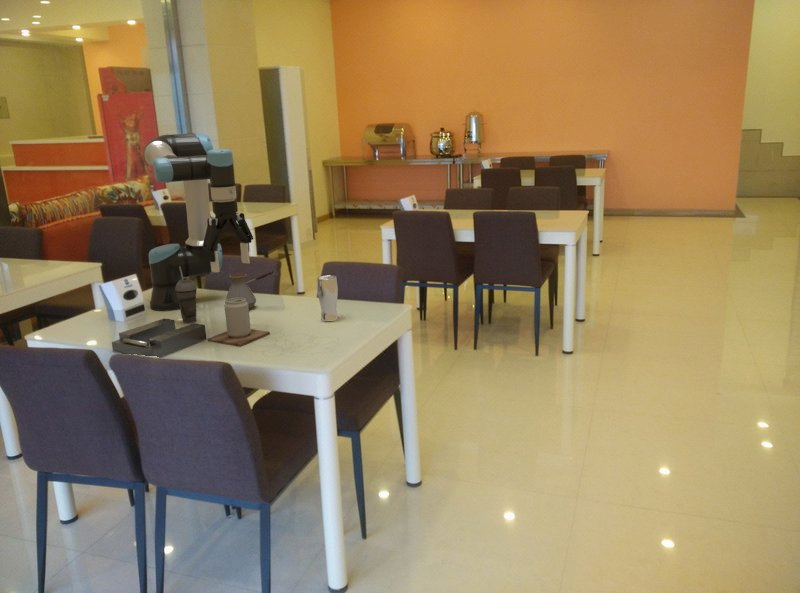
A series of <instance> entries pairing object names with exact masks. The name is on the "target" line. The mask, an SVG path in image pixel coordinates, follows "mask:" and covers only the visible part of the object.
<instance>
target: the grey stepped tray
mask: <svg viewBox="0 0 800 593" xmlns="http://www.w3.org/2000/svg"><path fill="white" fill-rule="evenodd" d="M206 331H207V330H206V324H201V323H197V322H194V323H189V324H188V325H184V326H182V327H179V328H176V320H175V319H171V318H162V319H158V320H155V321H151V322H149V323H146V324H142V325H140V326H137V327H134V328H130V329H128V330H124V331H122V332H119V333H118V336H119V339H115V340H113V341H111V348H112V352H115V353H120V354H124V353H129V354H137V355H145V356H157V357H161V358H163V357H166V356H168V355H171V354H173V353H176V352H178V351H179V352H180V351H182V350H183V349H186V348H190V347H191V346H194V345H196V344H199V343H202V342H205V341H208V338H207V332H206ZM129 354H128V355H129Z"/></svg>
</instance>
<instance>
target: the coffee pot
mask: <svg viewBox="0 0 800 593" xmlns="http://www.w3.org/2000/svg"><path fill="white" fill-rule="evenodd" d="M276 273H278V271H277V270H276V269H274V270H272V271H268V272H266V273H263V274H261V275H259V276H257V277H255V278H253V279H250V280H248V281H247V280H246V278H247V276H248V275H247V274H246V273H234V274H230V275H229V278H230V281H231V282H230V286H229V288H228V291H227V295H226V298H225V301H224V305H225V304H226V300H228V299H231V298H239V297H240V298H245V299H246V300H245V301H246V302H248V308H249V310H251V309H253V307H254V306H255V305H256V302H257V298H256V296H255V294H254V293H253V291H252V289H251V288H250V285H249V284H252V283H253V282H256V281H259V280H261V279H264V278H266V277H268V276H271V275H272V274H273V275H275V276H278V274H276Z"/></svg>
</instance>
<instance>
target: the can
mask: <svg viewBox="0 0 800 593" xmlns="http://www.w3.org/2000/svg"><path fill="white" fill-rule="evenodd" d="M245 300H246V299H245V298H240V297H239V298H231V299H228V300H226V299H225V301H226V304H225V303H224V305H223V306H224V315H225V323H226V331H227V334H228V335H229V336H230V337H232V338H241V337H245V336H247V335H249V333H250V332H251V329H252V328H251V322H250V320H251V319H250V309H249V308H248V302H246V301H245Z"/></svg>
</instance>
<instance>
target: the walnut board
mask: <svg viewBox="0 0 800 593" xmlns="http://www.w3.org/2000/svg"><path fill="white" fill-rule="evenodd" d="M250 329H251V332H250V333H249V335H247V336H245V337H241V338H232V337H230V336H229V335H228V334H227V330H226V331H224V332H222V333H221V332H220V333H219V334H216V335H214V336H211V337H209V338H207V342H211V343H217V344H223V345H228V346H234V347H239V348H241V347H243V346H245V345H247V344H250V343H253V342H255V341H257V340H260V339H262V338H264V337H267V336H269V335H271V332H270V331H265V330H260V329H254V328H250Z"/></svg>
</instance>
